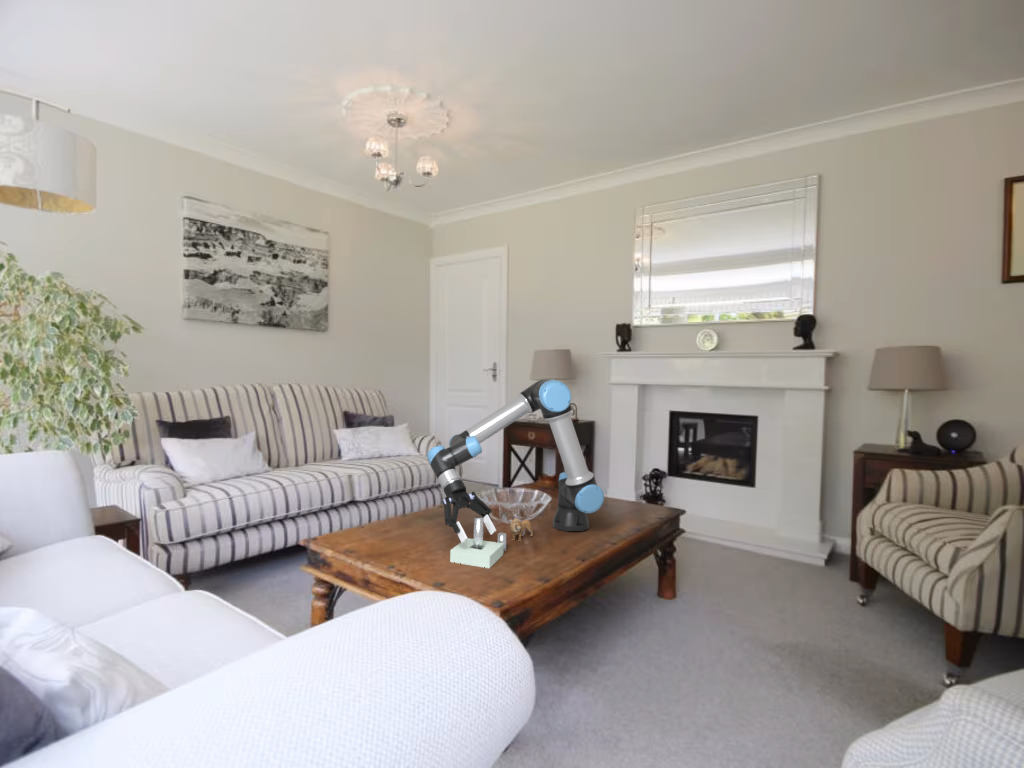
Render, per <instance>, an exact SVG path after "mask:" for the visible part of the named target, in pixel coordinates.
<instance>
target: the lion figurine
mask: <svg viewBox="0 0 1024 768" xmlns="http://www.w3.org/2000/svg"><path fill="white" fill-rule="evenodd" d="M509 526H510V528H509V529H510V532H511V533H512V538H511V541H512V540H514V541H516V535H518V539H517V542H518V541H521V542H522V537H521V536H523V537H524V536H525V534H526V530H528V533H529V537H530V536H534V531H533V528H532V524H531V520H528V519H524V520H522V521H521V520H520V519H519V518H514V519H512V520H511V522H510V525H509Z"/></svg>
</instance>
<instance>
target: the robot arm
mask: <svg viewBox="0 0 1024 768" xmlns="http://www.w3.org/2000/svg"><path fill="white" fill-rule="evenodd" d="M571 401H572V392H571V391H570V388H569V387H568V386H567V384H565V383H563V382H562V381H560V380H557V379H540V380H538V381H535V382H534V383H533V384H531V385H530V386H528V387H527V388H525V389H524V390H522V391H521V392H519V393H518V395H517V397H516V398H514V399H513V400H512V401H509V402H508V403H506V404H505V405H503V406H502V407H500V408H499V409H497V410H495V411H494V412H491V414H489V415H488V416H486V417H484V418H483V419H481V420H480V421H478V422H476V423H475V424H473V425H472V426H470V427H469V428H467V429H466V430H464V431H462V432H460V433H459V434H458V433H457V434H454V435H452V437H450V439H449V442H448V444H449V445H448V446H449V447H447V448H446V447H444V446H443V445H441V444H439V445H437V446H433V447H432V448H430V449H429V450H428V452H427V453H426V458H427V460H428V463H429V465H430V468H431V469H432V471H433V473H434V475H435V476H436V479H437V481H438V482H439V485H440V487H441V489H442V490H443V493H444V495H445V498H444V499H443V500H442V501H441V502H442V504H443V507H444V508H443V510H444V512H443V513H444V524H445V526H448V527H450V528H452V529H453V531H454V533H455V534H456V535H457V537H458V538H459V540H460V543H461V542H462V543H464V541H465V540H466V539H467V538H468V536H467V534H466V532H465V530H464V528H463V527H462V525H461V523H460V521H457V520H458V515H459V511H460V510H461V509H466V508H467V509H469V510H471V511H473V512H475V513H476V514H478V515H479V516H480V517H484V523H483V524H484V525H485V527H486V528H487V531H488V533H489V534H490V535H491V536H492V535H494V534H495V532H497V528H496V527H495V525H494V522H493V520H492V518H491V515H490V514H491V513H492V509H491V508H490V507H489V506H488V505H487V504H486V503H485V502H484V501H482V499H480V497H478V495H477V493H476V492H475V491H471V493H468V492H467V486H466V485H465V483H464V482H463V480H462V477H461V475H460V474H459V472H458V470H457V469H456V467H458V466H460V465H462V464H463V463H466V462H467V461H470V460H472V459H473V458H476V457H477V456H479V455H481V454H482V452H483V449H482V445H481V444H482V443H483V442H485V441H486V440H487V439H489V438H491V437H493V436H494V435H495V434H497V433H499V432H500V431H501V430H504V429H505V428H506V427H509V426H510V425H511V424H513V423H514V422H516V421H518V420H519V419H521V418H522V417H524V416H525V415H527V414H531V415H532V414H534V412H536V411H539V410H540V412H541V415H542V417H543V420H545V421H548V424H549V426H550V429H551V432H552V434H553V438H554V440H555V444H556V448H557V449H558V453H559V455H560V458H561V463H562V464H563V467H564V470H565V472H560V474H559V477H558V493H557V495H558V496H557V509H556V512H555V513H554V517H553V519H552V527H553V528H554V529H556V530H559V531H562V530H563V531H562V532H568V531H582V532H584V531H583V530H586V529H588V528H590V521H589V519H588V515H587V514H592V513H593V514H594V513H595V512H597V511H599V510H600V508H601V507H602V506H603V504H604V502H605V493H604V491H603V489H602V488H601V487H600V486H599V485H598V484H597V481H596V478H595V475H594V473H593V472H592V471H590V470H589V468H588V465H587V462H586V460H585V457H584V454H583V451H582V447H581V444H580V442H579V438H578V435H577V432H576V429H575V426H574V424H573V423H574V422H573V419H572V418H571V413H572V411H573V408H572V404H571ZM451 505H452V506H451ZM588 530H589V529H588ZM586 531H587V530H586Z"/></svg>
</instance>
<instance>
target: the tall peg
mask: <svg viewBox="0 0 1024 768" xmlns="http://www.w3.org/2000/svg"><path fill="white" fill-rule="evenodd" d="M484 524H485V523H484V517H482V516H481V515H479V516H474V518H473V538H472V539H473V548H474V549H480V550H482V546H483V540H484Z"/></svg>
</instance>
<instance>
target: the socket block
mask: <svg viewBox="0 0 1024 768" xmlns="http://www.w3.org/2000/svg"><path fill="white" fill-rule="evenodd" d="M503 548H504V543H497V542H496V541H489V540H484V539H483V546H482V550H480V549H474V548H473V538H468V537H467V539H466V540H465V541H464V543H462V542H461V541H460V542H459V543H458V544H457V545H455V546H454V547H453V548H451V549H450V552H449V553H450V555H449V559H450V561H449V562H450V563H454V562H455V563H456V564H460V563H461V565H465V566H466V565H467V566H473V567H478V568H484V567H485V568H484V569H490V568H491V567H493V565H494V564H496V563H497V562H498V561H499V559H500V558H502V557H503V556H504V552H503ZM455 563H454V564H455Z"/></svg>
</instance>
